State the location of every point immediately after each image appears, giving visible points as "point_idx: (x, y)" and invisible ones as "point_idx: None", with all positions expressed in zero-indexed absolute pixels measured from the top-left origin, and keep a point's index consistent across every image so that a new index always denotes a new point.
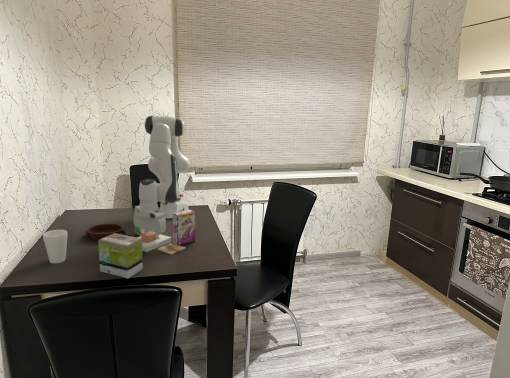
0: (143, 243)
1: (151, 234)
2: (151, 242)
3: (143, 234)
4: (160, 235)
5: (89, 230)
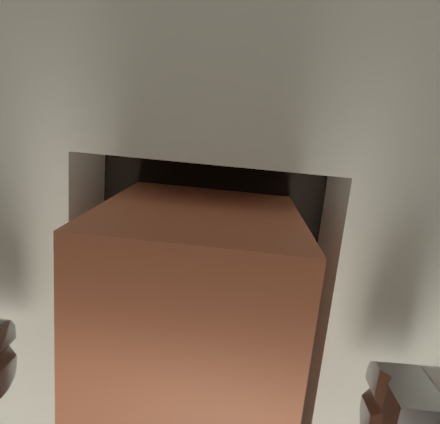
0: (129, 93)
1: (106, 420)
2: (34, 223)
3: (296, 324)
4: None
5: None
